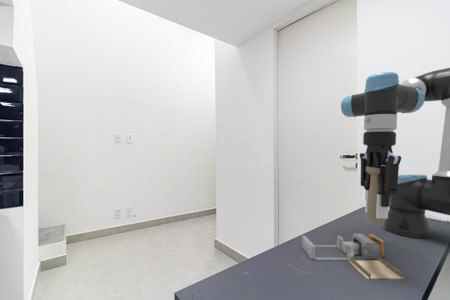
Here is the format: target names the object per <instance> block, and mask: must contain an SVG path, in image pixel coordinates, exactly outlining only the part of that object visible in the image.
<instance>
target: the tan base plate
mask: <svg viewBox="0 0 450 300" xmlns="http://www.w3.org/2000/svg"><path fill="white" fill-rule="evenodd" d="M347 261H348V263H349V264H350V265H351V266H352V267H354V269H356V270H357V271H358V273H360V275H362V276H363V277H364V278H365V279H366V280H377V281H378V280H405V279H406V277H405V275H404V273H403V272H401V270H399V269H398V268H397V267H394V266H393V264H391V263H389V262H388V261H387V260H385V259H383V258H382V257H378V259H377V260H356V259H353V258H352V257H350V260H347Z"/></svg>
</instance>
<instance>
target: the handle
mask: <svg viewBox="0 0 450 300" xmlns="http://www.w3.org/2000/svg"><path fill="white" fill-rule="evenodd" d="M366 172H367V173H369V174H370V175H371V178H370V189H369V197H368V199H369V200H368V211H369V213H368V214H369V216H368V217H369V221H370V222H373V223H382V222H383V218H376V205H377V192H379V183H378V174H380V168H375V167H366Z"/></svg>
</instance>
